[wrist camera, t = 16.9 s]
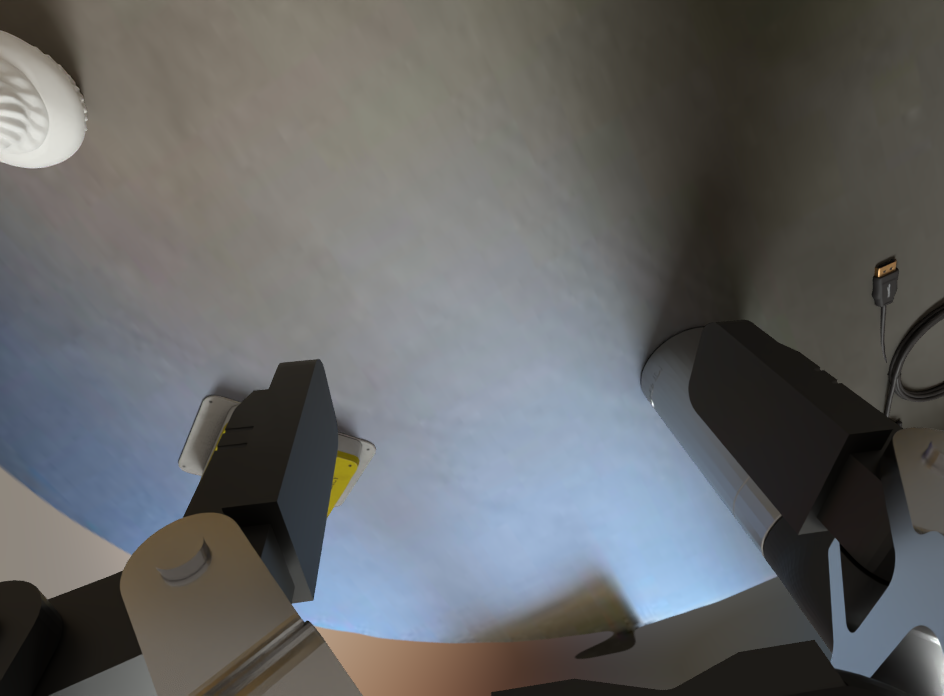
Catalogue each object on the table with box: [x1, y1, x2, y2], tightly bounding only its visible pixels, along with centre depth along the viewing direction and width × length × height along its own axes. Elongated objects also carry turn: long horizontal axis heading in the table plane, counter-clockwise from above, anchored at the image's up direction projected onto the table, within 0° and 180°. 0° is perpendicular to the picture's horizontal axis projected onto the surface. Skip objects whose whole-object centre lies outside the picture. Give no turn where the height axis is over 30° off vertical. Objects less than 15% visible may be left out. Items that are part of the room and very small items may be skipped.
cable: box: [872, 259, 944, 427], centre depth 48 cm, size 14×28×2 cm, turn 25°
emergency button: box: [178, 395, 376, 517], centre depth 41 cm, size 9×4×15 cm
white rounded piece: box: [0, 30, 88, 168], centre depth 23 cm, size 6×6×7 cm
